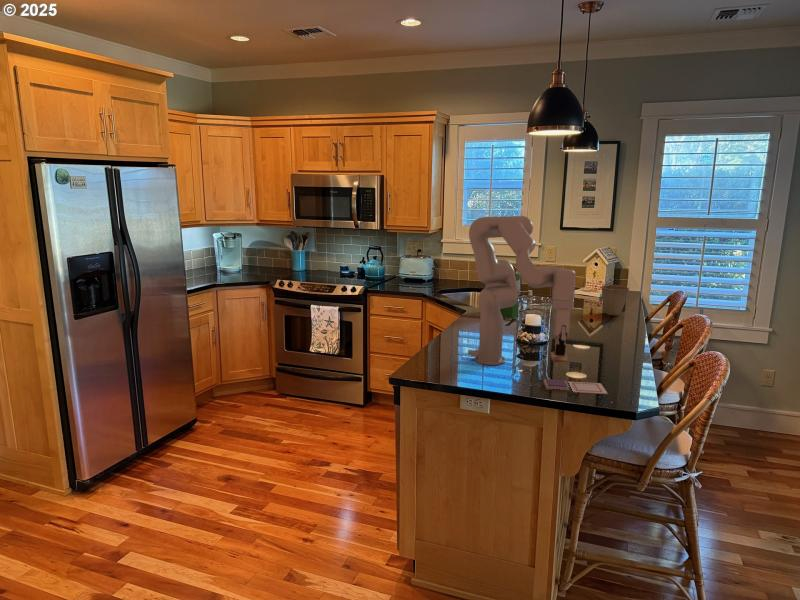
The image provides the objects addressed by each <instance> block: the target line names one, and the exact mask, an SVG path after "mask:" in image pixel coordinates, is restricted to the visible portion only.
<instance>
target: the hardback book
mask: <svg viewBox="0 0 800 600" xmlns="http://www.w3.org/2000/svg"><path fill="white" fill-rule="evenodd" d="M515 278H516V283H517V289H518V299H519V300H520V282H521V275H520V274H519V273H515ZM493 286H499V285H498V283H491V284H485V286H484V289H485V288H488V287H493ZM519 302H520V301H519ZM519 302H518V301H517V303H516V304H515V305H514V306H512V307H508V308H502V309H500V312H501V314H502V316H503V318H507V319H514V318H516V317H518V316H519Z"/></svg>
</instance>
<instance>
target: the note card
mask: <svg viewBox="0 0 800 600" xmlns="http://www.w3.org/2000/svg"><path fill="white" fill-rule="evenodd" d="M568 383H569V384H568ZM567 384H568V386H569V385H570V386H569V388H570V387H571V388H570V389H572V390H571V391H573V392H572V393H578V392H579V393H581V394H583V393H584V394H601V395H608V391H607V389H605V387H604V385H603V384H602V383H599V382H585V381H583V382H581V381H567ZM579 393H578V394H579Z"/></svg>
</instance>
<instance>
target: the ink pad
mask: <svg viewBox="0 0 800 600" xmlns="http://www.w3.org/2000/svg"><path fill="white" fill-rule="evenodd" d="M543 385H544V387H545V389H546V390H552V389H555V391H570V386H569V384H568V381H567V380H565V379H552V378H551V379H548V378H546V379H543ZM556 389H558V390H556ZM559 389H560V390H559Z"/></svg>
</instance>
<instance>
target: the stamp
mask: <svg viewBox="0 0 800 600" xmlns="http://www.w3.org/2000/svg"><path fill="white" fill-rule="evenodd" d="M559 336H561V334H559ZM559 339H561V338H559ZM554 341H555V352H554V351H550V359H551V361H552V362H554V363H555V362H556V363H567V362H568V354H567V353H566V352H565V355H556V344H557V336H556V340H555V339H554Z"/></svg>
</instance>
